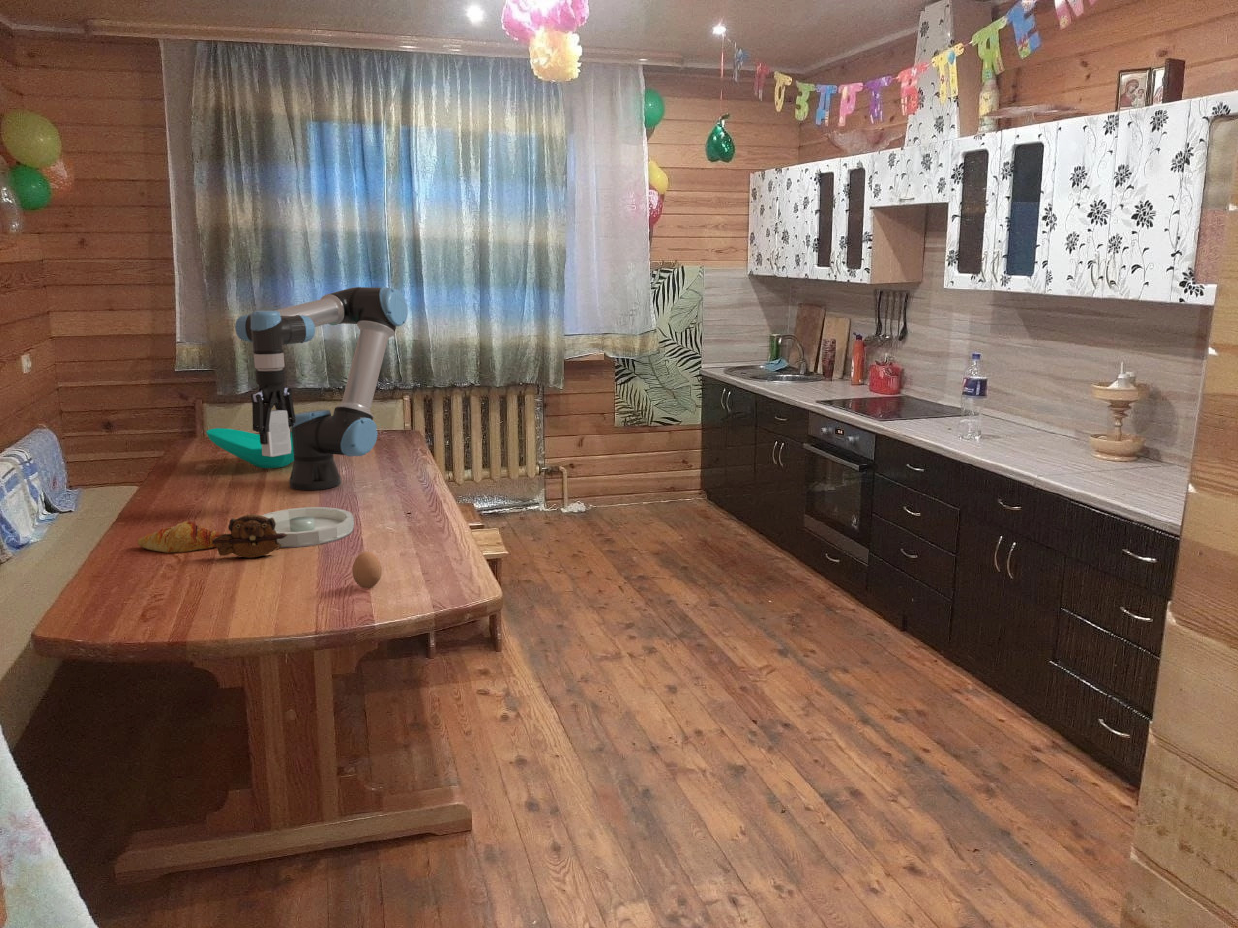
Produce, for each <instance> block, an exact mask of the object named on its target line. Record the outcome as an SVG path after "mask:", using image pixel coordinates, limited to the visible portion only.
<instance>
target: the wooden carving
mask: <svg viewBox="0 0 1238 928" xmlns="http://www.w3.org/2000/svg"><path fill="white" fill-rule="evenodd" d="M275 526H276V523H275V520H274V519H273V518H267V517H264V516H261V515H259V514H252V513H251V514H245V515H241V516H240V517H238V518H234V517H233V518H231V519H230V520H229V524H228V530H229V531H230V533H221V534H222V535H220V536H218V537H216V538H214V540H212V543H213V544H215V546H216V547H215V548H216V549H217V552H218V555H219V556H228V555H232V554H234V555H236V556H238V557H241V558H247V559H248V558H249V559H250V558H259V557H262V556H266V555H268V554H269V553H271V552H274V551H276V550H277V549H278V548H280V546H281V544H279V543H278V542H277V539H282V538H284V537H286V536H287V534H285V533H276V531H275Z"/></svg>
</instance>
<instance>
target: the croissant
mask: <svg viewBox="0 0 1238 928" xmlns="http://www.w3.org/2000/svg"><path fill="white" fill-rule="evenodd" d="M222 534H223V533H219V531H217V530H209V529H207V528H206V527H205V526H200V525H197V524H196V523H195V522H193V521H188V520H186V521H183V522H180V523H177V524H176V525H175V526H171V527H170V526H169V527H164V528H160V529H159V530H158V531H155V532H151V533H147V534H146V535H145V536H143V537H139V538H138V539H137V545H138V546H139V547H142V548H143V549H146V550H148V551H149V550H150V551H155V552H162V553H172V554H173V553H187V552H193V551H197V550H207V549H212V548H216V546H215V544H213V543H212V540H214V538H216V537H218V536H220V535H222Z"/></svg>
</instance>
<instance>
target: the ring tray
mask: <svg viewBox="0 0 1238 928" xmlns="http://www.w3.org/2000/svg"><path fill="white" fill-rule="evenodd" d="M260 516H264V517H267V518H273V519H274V520H275V523H276V526H275V531H276V533H285V534H287V536H286V537H284V538H282V539H277V542H278V543H279V544H281V546H280V547H279V548H282V549H283V548H288V549H289V548H304V547H312V546H319V545H318V544H320V545H324V543H325V544H329V543H333V542H336V540H337V541H340V540H341V539H344V538H346V536H347V537H348V536H350V535H351V534H352V533H353V532H354V527H355V522H354V521H355V519H354V515H353V513H352V512H351V511H348V510H345V509H341V508H334V507H328V506H313V507H312V506H308V507H296V508H294V507H293V508H287V509H286V508H285V509H281V510H277V511H273V512H267V513H265V514H262V515H260ZM339 539H340V540H339ZM332 541H333V542H332ZM328 542H329V543H328Z"/></svg>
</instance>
